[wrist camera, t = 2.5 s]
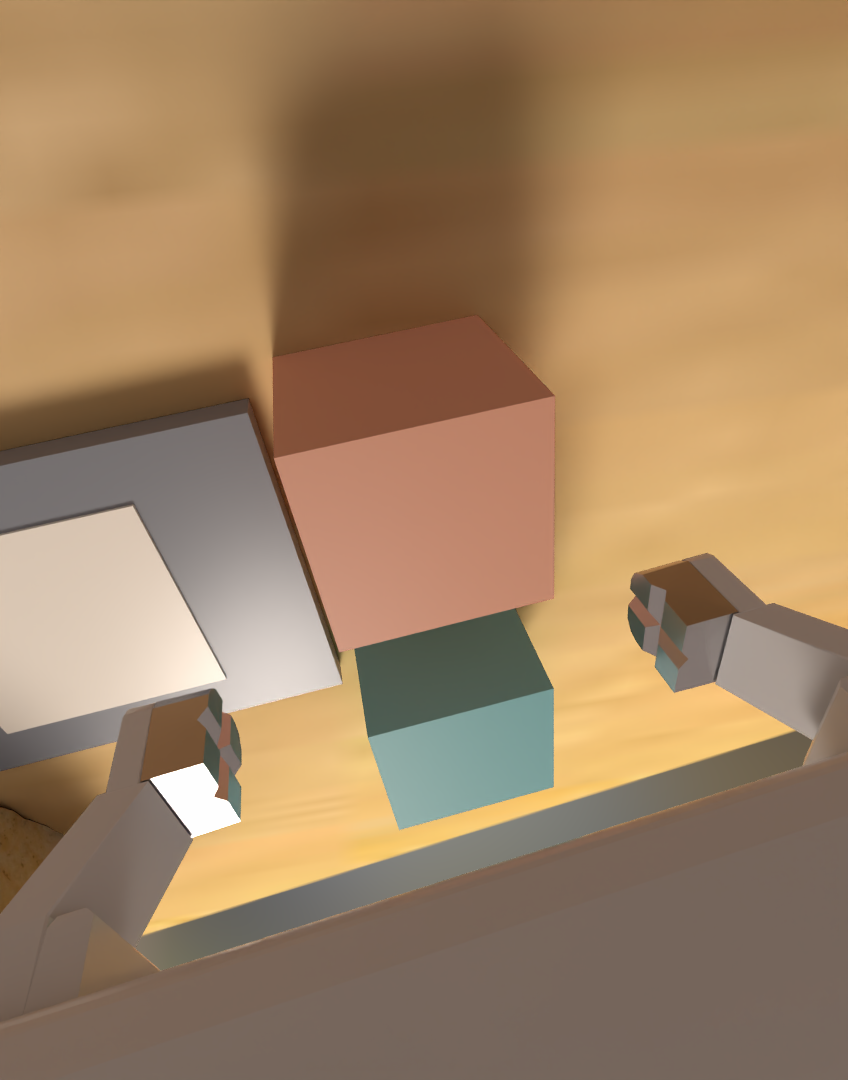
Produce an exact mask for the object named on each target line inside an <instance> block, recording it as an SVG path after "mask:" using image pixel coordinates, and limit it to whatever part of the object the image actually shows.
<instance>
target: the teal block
mask: <svg viewBox="0 0 848 1080" xmlns="http://www.w3.org/2000/svg"><path fill="white" fill-rule="evenodd" d="M355 656H356V662H357V669H358V675H359V682H360V689H361V695H362V702H363V708H364V715H365V722H366V728H367V735H368V739H369V742H370V745H371V748H372V751H373V754H374V757H375V760H376V763H377V766H378V769H379V772H380V775H381V778H382V780H383V783H384V786H385V789H386V792H387V795H388V798H389V801H390V804H391V807H392V810H393V813H394V816H395V819H396V822H397V825H398V828H399V830H401V829H404V828H408V827H412V826H415V825H419V824H422V823H426V822H430V821H433V820H437V819H440V818H444V817H448V816H451V815H455V814H458V813H462V812H466V811H469V810H473V809H476V808H480V807H484V806H487V805H491V804H494V803H498V802H502V801H505V800H509V799H512V798H516V797H520V796H523V795H527V794H530V793H534V792H538V791H541V790H545V789H548V788H552V787H554V688H553V686H552V684H551V682H550V680H549V678H548V676H547V674H546V672H545V670H544V668H543V666H542V663H541V661H540V659H539V657H538V655H537V653H536V651H535V649H534V647H533V645H532V643H531V641H530V638H529V636H528V634H527V632H526V630H525V628H524V626H523V624H522V622H521V620H520V618H519V616H518V614H517V611H516V609H515V608H514V609H510V610H506V611H502V612H498V613H494V614H490V615H486V616H482V617H478V618H474V619H470V620H466V621H462V622H458V623H455V624H451V625H447V626H443V627H439V628H435V629H431V630H427V631H423V632H419V633H415V634H411V635H407V636H403V637H399V638H395V639H391V640H387V641H383V642H379V643H375V644H371V645H367V646H363V647H359V648H355Z"/></svg>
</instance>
